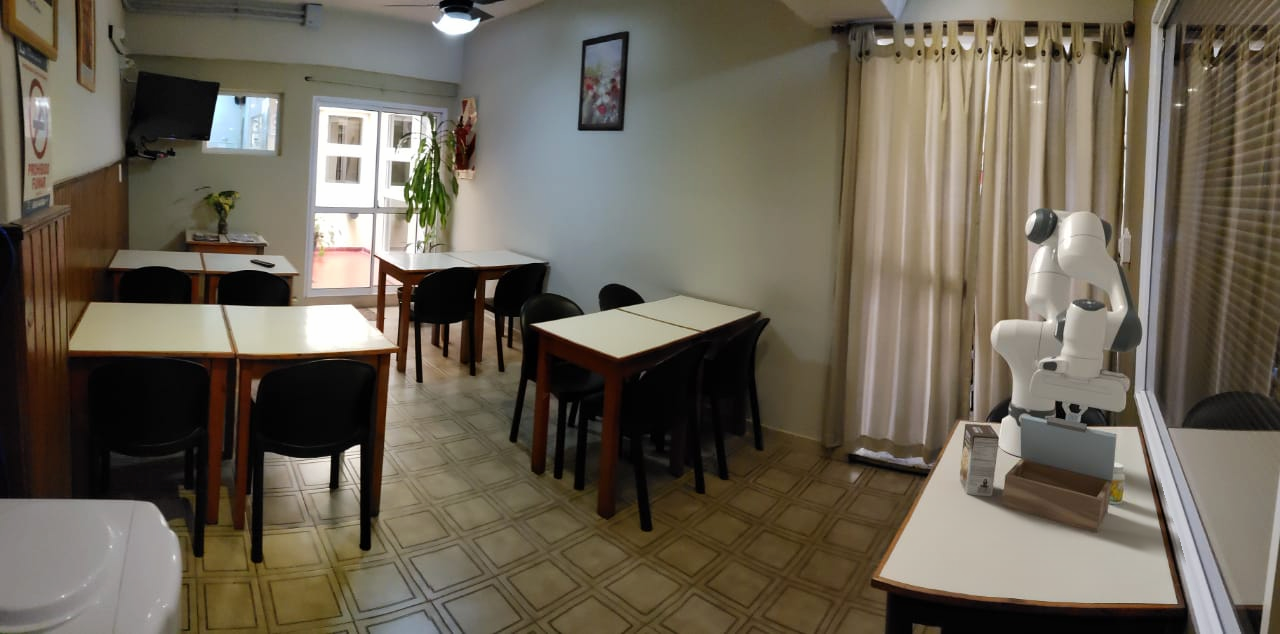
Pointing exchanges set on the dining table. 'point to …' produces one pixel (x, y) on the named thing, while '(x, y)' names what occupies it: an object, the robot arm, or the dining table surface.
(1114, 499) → the supplement bottle
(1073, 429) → the lid
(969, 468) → the coffee box
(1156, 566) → the dining table surface
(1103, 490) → the walnut box
